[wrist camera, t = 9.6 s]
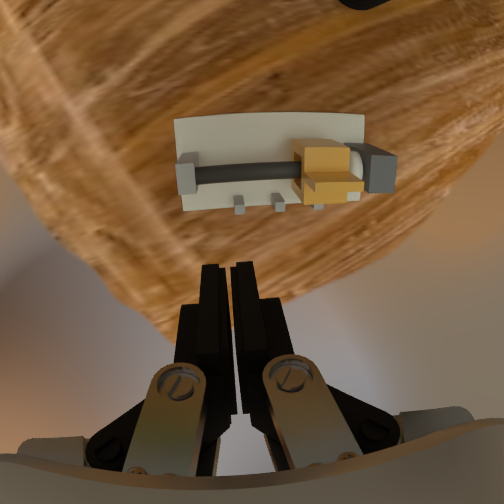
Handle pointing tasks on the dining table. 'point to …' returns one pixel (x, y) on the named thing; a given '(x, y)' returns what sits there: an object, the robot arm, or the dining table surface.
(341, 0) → the black water bottle
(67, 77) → the dining table surface
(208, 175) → the linear slide rail
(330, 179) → the sleeve
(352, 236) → the dining table surface
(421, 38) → the dining table surface
